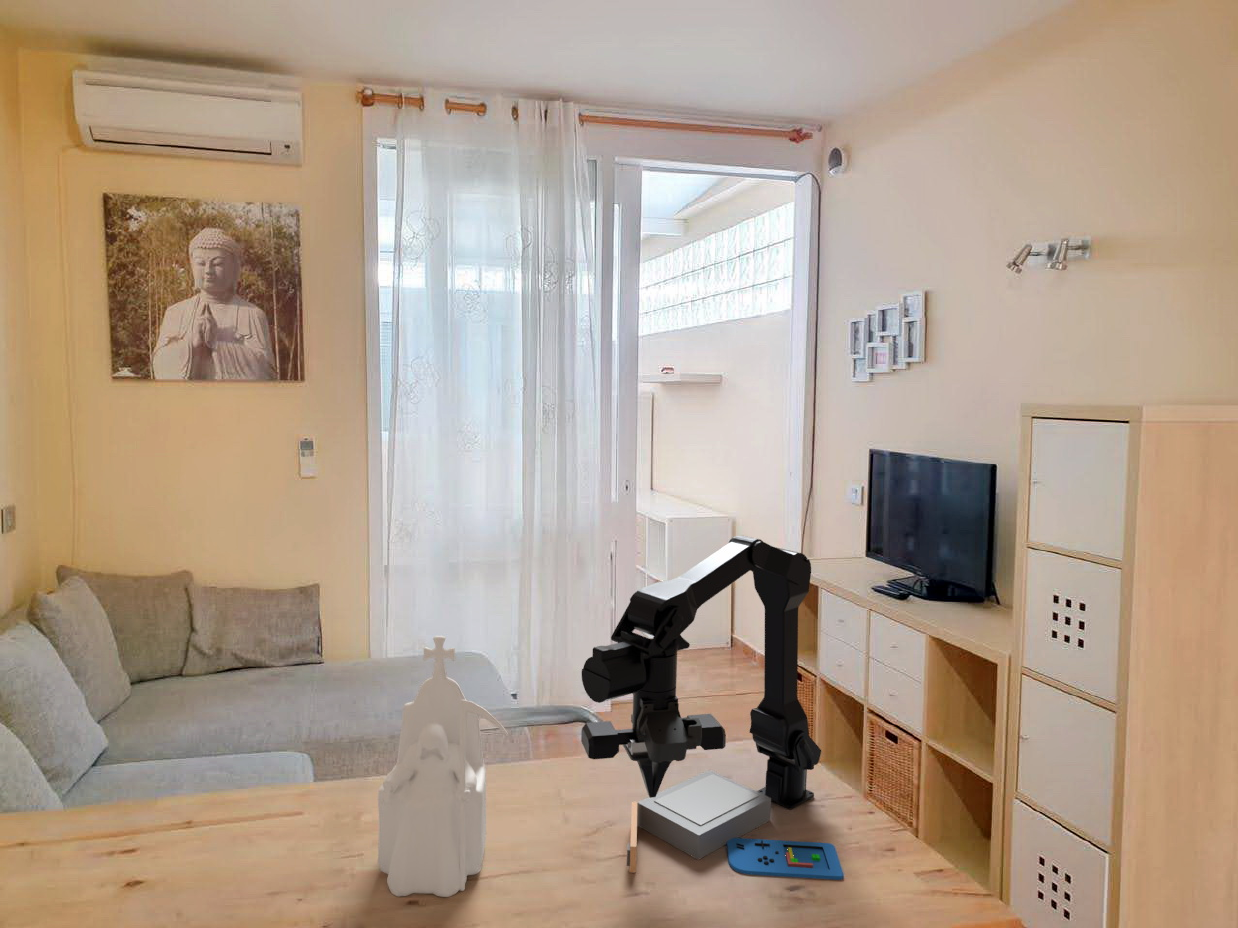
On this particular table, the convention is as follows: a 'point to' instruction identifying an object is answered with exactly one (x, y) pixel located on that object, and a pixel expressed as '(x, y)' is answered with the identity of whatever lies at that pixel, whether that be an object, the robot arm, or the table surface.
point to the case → (703, 813)
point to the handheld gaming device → (784, 858)
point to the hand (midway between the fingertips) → (651, 795)
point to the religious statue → (435, 790)
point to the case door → (632, 840)
